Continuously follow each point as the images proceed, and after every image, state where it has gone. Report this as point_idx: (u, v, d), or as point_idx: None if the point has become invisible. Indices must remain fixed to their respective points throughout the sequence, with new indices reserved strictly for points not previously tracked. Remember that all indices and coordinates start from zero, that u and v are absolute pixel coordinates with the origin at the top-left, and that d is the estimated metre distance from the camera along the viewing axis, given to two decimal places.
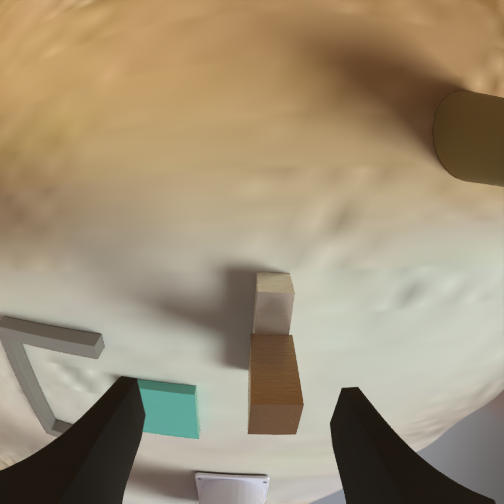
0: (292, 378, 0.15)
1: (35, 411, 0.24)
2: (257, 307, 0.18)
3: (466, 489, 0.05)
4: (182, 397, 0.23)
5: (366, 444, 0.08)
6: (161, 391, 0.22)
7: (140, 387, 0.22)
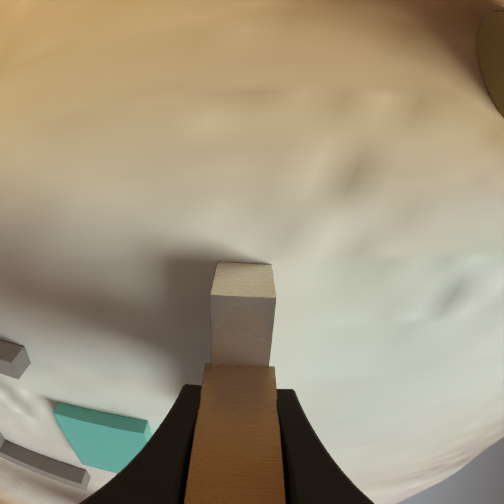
0: (268, 452, 0.07)
1: None
2: (212, 322, 0.10)
3: None
4: (129, 435, 0.15)
5: (286, 450, 0.08)
6: (101, 425, 0.15)
7: (76, 418, 0.15)
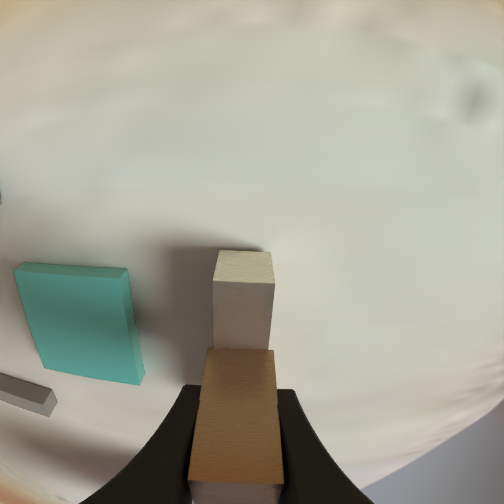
0: (267, 431, 0.08)
1: None
2: (214, 306, 0.11)
3: None
4: (100, 286, 0.13)
5: (286, 450, 0.08)
6: (67, 275, 0.12)
7: (39, 272, 0.12)
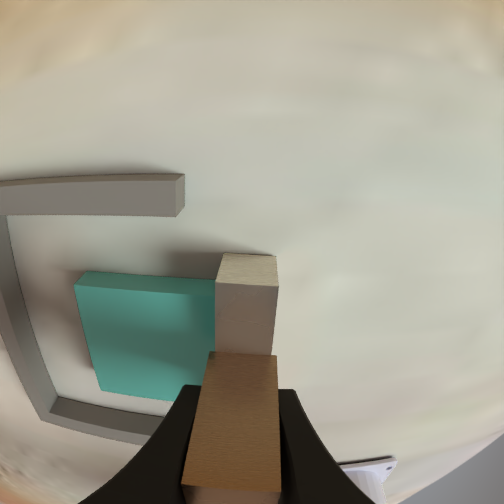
0: (267, 437, 0.08)
1: (22, 378, 0.14)
2: (216, 309, 0.11)
3: None
4: (193, 305, 0.12)
5: (287, 450, 0.08)
6: (151, 291, 0.12)
7: (111, 287, 0.12)
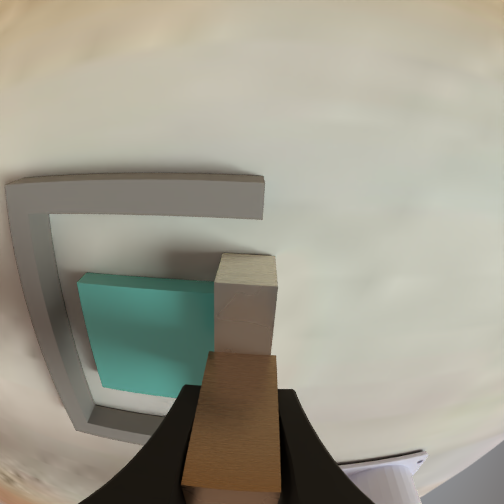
0: (266, 437, 0.08)
1: (59, 388, 0.14)
2: (215, 309, 0.11)
3: None
4: (194, 302, 0.12)
5: (286, 450, 0.08)
6: (152, 289, 0.12)
7: (113, 284, 0.12)
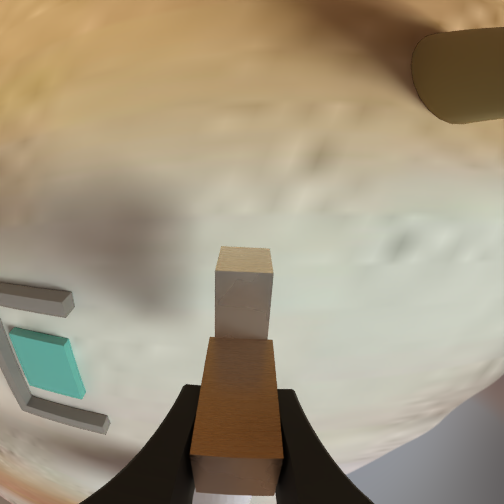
0: (267, 410, 0.09)
1: (10, 384, 0.22)
2: (216, 296, 0.12)
3: None
4: (55, 348, 0.21)
5: (286, 450, 0.08)
6: (38, 340, 0.21)
7: (23, 336, 0.21)
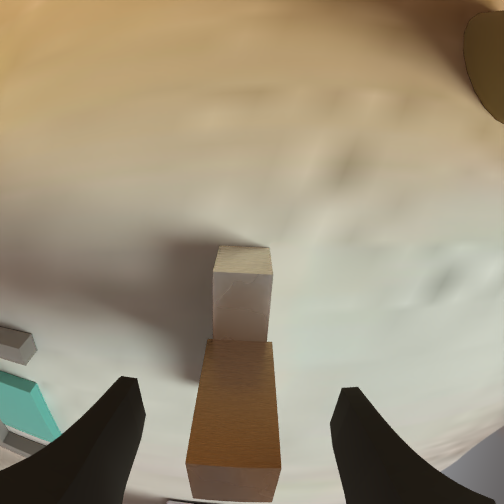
0: (265, 417, 0.08)
1: None
2: (214, 297, 0.11)
3: (466, 489, 0.05)
4: (21, 393, 0.16)
5: (366, 444, 0.08)
6: (3, 383, 0.16)
7: None
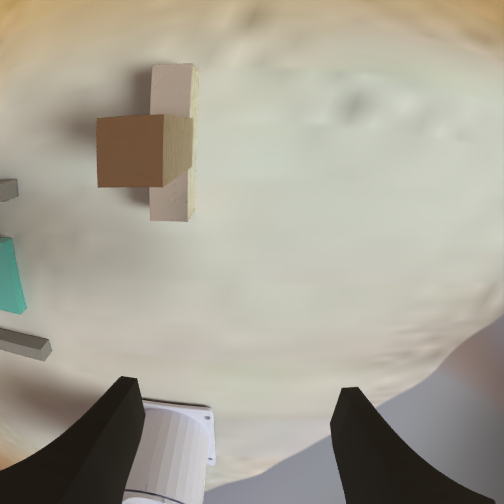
0: None
1: None
2: (152, 84, 0.14)
3: (466, 489, 0.05)
4: None
5: (366, 444, 0.08)
6: None
7: None
